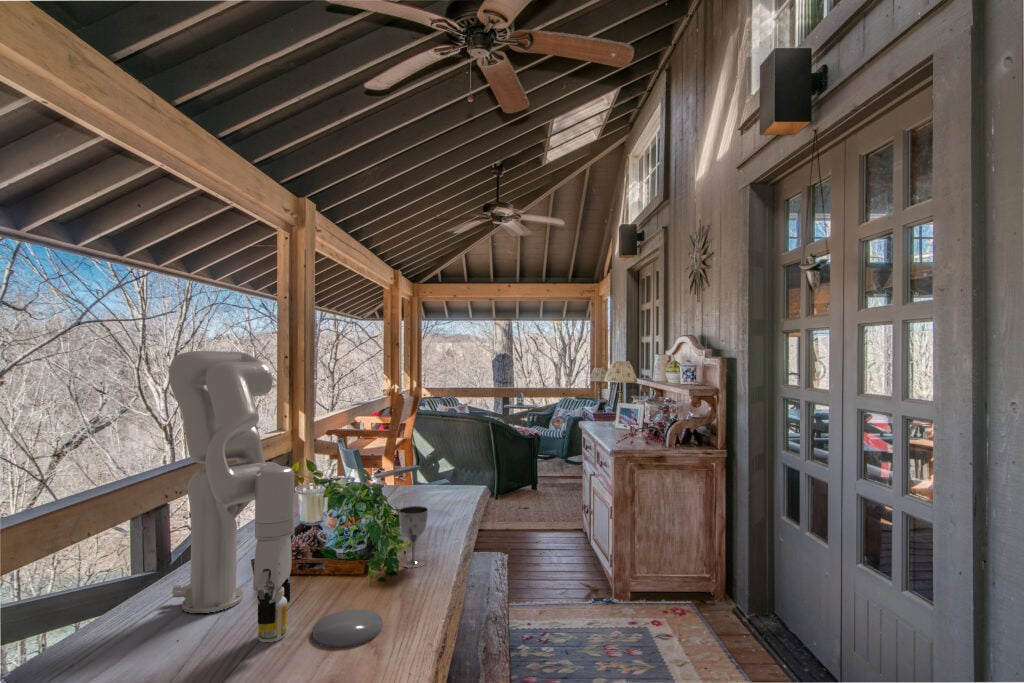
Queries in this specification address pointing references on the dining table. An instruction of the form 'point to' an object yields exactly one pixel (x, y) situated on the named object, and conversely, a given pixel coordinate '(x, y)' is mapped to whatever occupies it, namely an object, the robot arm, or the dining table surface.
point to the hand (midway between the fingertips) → (274, 612)
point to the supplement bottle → (279, 626)
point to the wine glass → (413, 526)
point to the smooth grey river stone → (347, 628)
